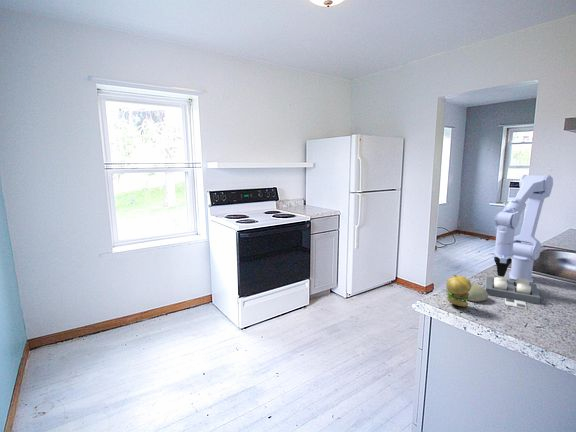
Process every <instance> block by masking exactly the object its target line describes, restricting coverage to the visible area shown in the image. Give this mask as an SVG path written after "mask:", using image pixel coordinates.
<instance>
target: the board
mask: <svg viewBox="0 0 576 432" xmlns="http://www.w3.org/2000/svg"><path fill="white" fill-rule="evenodd" d="M494 278H495V277H493V276H487V277H486V283H485V290H486V291H487V294H488V296H492V297H496V298H497V297H498V298H503V299H505V298H507V299H512V300H518V301H523V302H526V303H529V304H530V303H531V304H537V305H540V304H541V303H540V302H541V297H540V293H539V289H538V287H537V284H536V283H531V282H529V285H530V286H531V293H530V295H529V294H523V293H518V292H516V288H517V286H515V283H516V280H512V279H506V278H505V279H506V280H507V282H508V285H507V291H506V290H501V289H495V288H494Z"/></svg>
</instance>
